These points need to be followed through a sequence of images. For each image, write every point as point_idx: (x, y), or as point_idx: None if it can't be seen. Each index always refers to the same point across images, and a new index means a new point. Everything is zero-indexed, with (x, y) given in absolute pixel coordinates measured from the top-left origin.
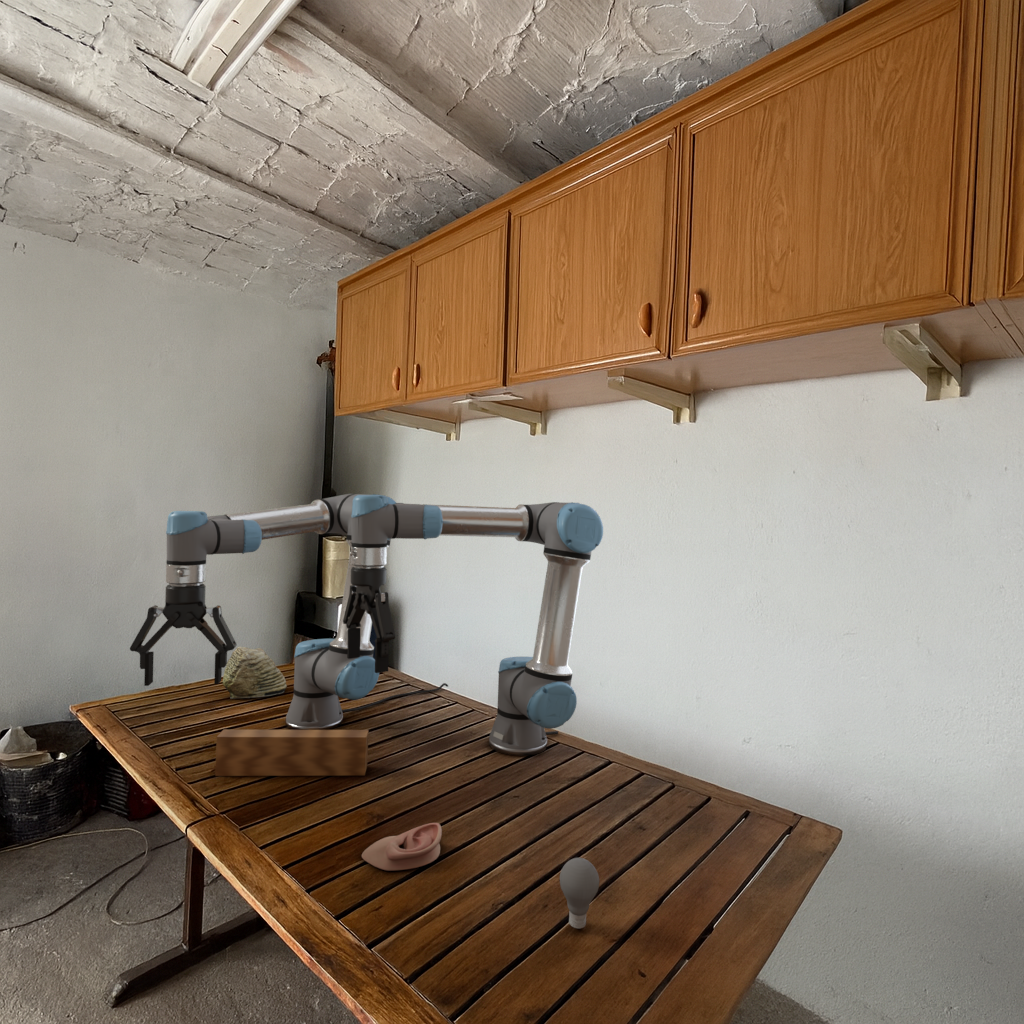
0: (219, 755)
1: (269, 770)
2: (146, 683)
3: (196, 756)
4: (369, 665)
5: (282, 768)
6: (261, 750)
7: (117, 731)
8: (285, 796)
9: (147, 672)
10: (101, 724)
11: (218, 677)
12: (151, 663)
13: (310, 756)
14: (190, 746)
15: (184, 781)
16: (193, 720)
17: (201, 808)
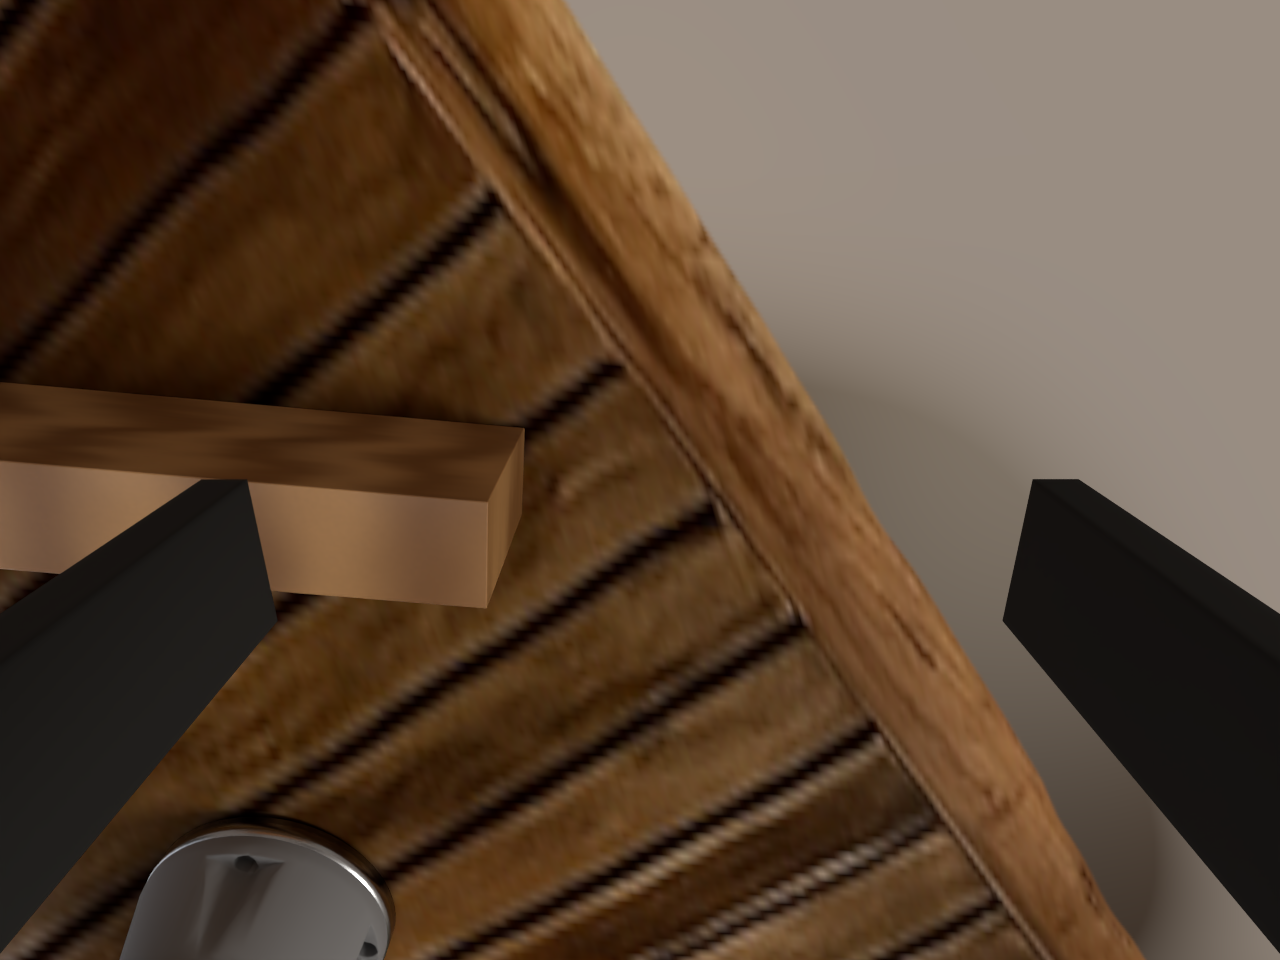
0: (489, 460)
1: (268, 414)
2: (1070, 489)
3: (666, 631)
4: None
5: (200, 411)
6: (261, 451)
7: (1042, 878)
8: (118, 170)
9: (1156, 560)
10: (1115, 939)
11: (150, 523)
12: (1183, 740)
13: (17, 417)
14: (719, 726)
15: (644, 387)
16: (774, 951)
17: (476, 76)
